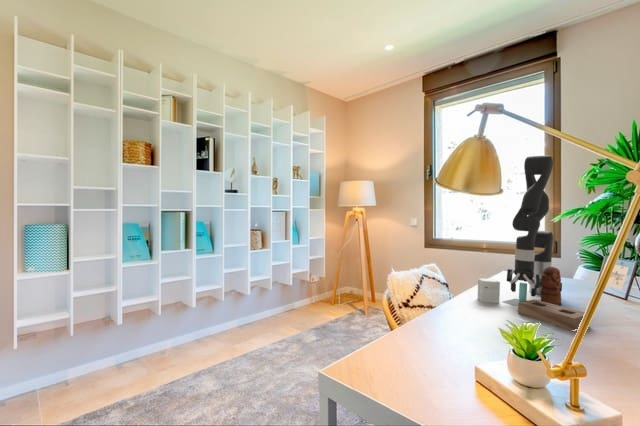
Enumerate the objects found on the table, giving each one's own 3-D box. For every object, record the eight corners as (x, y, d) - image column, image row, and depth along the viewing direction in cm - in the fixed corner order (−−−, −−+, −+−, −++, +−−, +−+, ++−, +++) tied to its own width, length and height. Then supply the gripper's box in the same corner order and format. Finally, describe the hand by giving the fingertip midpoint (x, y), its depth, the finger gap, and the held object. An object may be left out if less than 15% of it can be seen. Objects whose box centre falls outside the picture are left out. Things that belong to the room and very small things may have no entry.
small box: (494, 300, 153) (494, 278, 153) (499, 303, 147) (500, 281, 147) (477, 299, 154) (477, 278, 153) (481, 302, 148) (482, 280, 148)
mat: (515, 299, 155) (515, 298, 155) (542, 306, 145) (542, 305, 145) (501, 302, 149) (501, 301, 149) (528, 310, 139) (528, 309, 139)
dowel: (520, 303, 148) (521, 282, 147) (527, 305, 145) (528, 283, 145) (517, 304, 146) (518, 282, 146) (524, 305, 143) (525, 284, 143)
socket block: (533, 310, 139) (533, 299, 139) (588, 326, 121) (589, 313, 121) (517, 314, 133) (518, 302, 133) (574, 331, 115) (575, 318, 115)
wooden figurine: (554, 309, 141) (556, 269, 140) (538, 305, 146) (539, 267, 145) (564, 304, 147) (565, 267, 147) (548, 301, 153) (549, 264, 152)
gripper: (545, 261, 140) (544, 297, 141) (513, 256, 153) (511, 289, 153) (537, 262, 137) (535, 299, 137) (504, 257, 149) (503, 290, 149)
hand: (523, 293), depth 145 cm, fingers open, 8 cm apart
